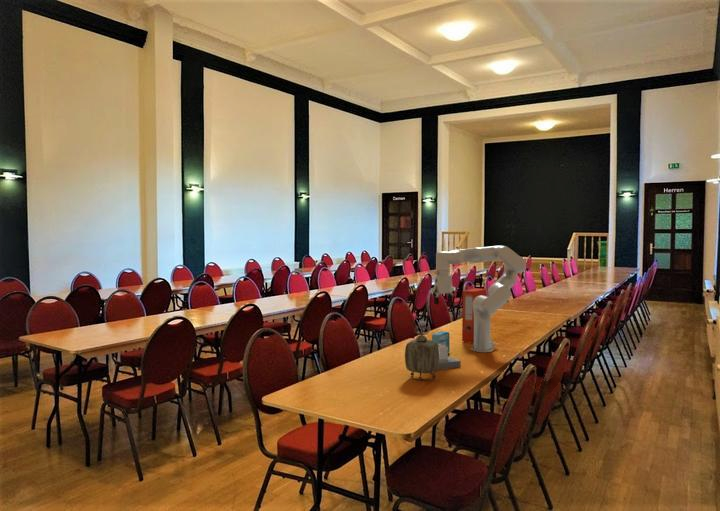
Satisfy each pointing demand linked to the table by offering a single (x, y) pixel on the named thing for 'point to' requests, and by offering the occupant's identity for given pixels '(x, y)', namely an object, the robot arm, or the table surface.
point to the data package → (441, 338)
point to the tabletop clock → (421, 355)
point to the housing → (443, 352)
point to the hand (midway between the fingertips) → (443, 303)
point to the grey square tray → (448, 364)
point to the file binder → (469, 313)
